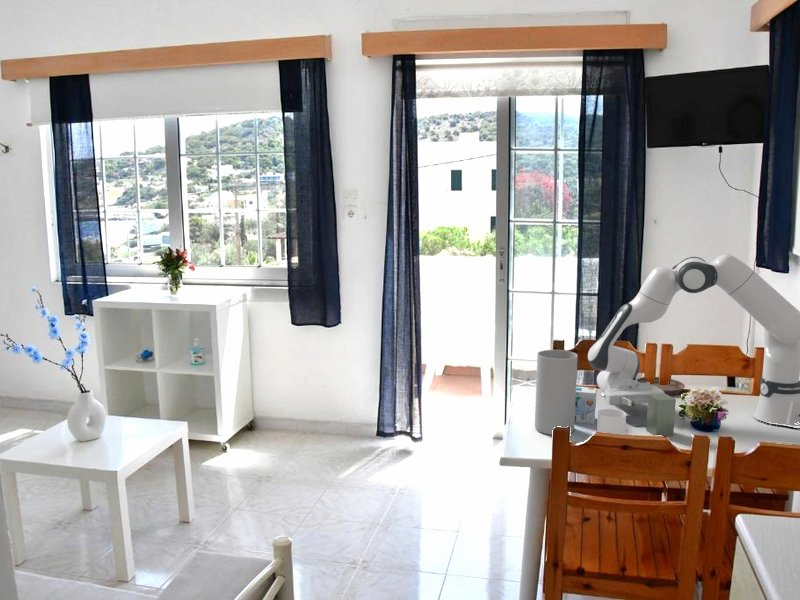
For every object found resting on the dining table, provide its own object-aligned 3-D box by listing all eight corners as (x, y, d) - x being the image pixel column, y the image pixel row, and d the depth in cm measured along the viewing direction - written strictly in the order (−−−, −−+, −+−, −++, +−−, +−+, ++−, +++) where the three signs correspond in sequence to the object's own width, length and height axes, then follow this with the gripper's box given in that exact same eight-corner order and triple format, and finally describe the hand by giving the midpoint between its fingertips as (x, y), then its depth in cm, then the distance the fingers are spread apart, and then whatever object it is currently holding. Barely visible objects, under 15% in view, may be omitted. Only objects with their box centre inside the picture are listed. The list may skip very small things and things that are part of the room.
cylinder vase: (527, 425, 243) (530, 351, 239) (561, 421, 247) (564, 348, 243) (546, 438, 231) (549, 360, 227) (581, 434, 235) (585, 357, 231)
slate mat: (646, 415, 254) (646, 414, 254) (662, 425, 244) (662, 423, 244) (619, 417, 252) (619, 416, 252) (634, 426, 242) (634, 425, 242)
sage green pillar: (663, 429, 240) (665, 393, 238) (673, 435, 234) (675, 399, 232) (646, 430, 239) (648, 394, 237) (655, 436, 233) (658, 400, 231)
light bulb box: (561, 421, 247) (562, 390, 246) (563, 415, 254) (564, 384, 252) (594, 424, 244) (596, 393, 243) (595, 418, 251) (596, 387, 249)
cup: (600, 449, 222) (601, 417, 220) (590, 435, 234) (592, 404, 232) (627, 449, 222) (629, 417, 220) (616, 435, 234) (618, 405, 232)
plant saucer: (692, 390, 284) (693, 383, 284) (670, 400, 272) (671, 392, 272) (650, 381, 297) (650, 374, 297) (627, 389, 285) (627, 382, 285)
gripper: (598, 384, 256) (616, 395, 242) (652, 381, 259) (673, 392, 246) (597, 401, 257) (615, 414, 243) (651, 398, 260) (672, 410, 247)
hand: (645, 403), depth 245 cm, fingers open, 8 cm apart
